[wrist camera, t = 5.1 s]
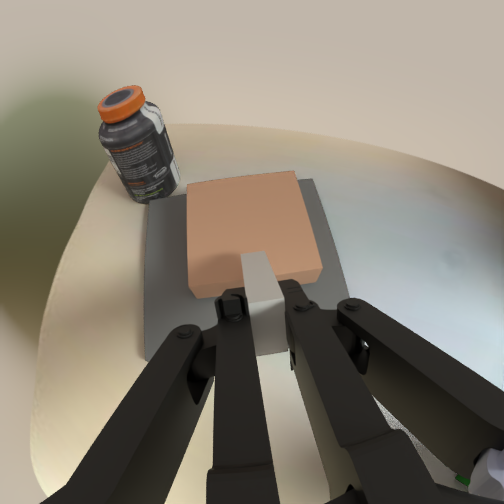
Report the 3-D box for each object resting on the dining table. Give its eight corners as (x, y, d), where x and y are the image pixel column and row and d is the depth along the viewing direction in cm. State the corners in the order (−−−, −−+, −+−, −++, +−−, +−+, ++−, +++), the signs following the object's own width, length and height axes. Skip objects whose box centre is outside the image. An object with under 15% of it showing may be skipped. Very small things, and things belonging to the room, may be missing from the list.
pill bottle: (190, 167, 28) (166, 76, 18) (166, 210, 25) (125, 115, 15) (145, 162, 29) (113, 81, 19) (120, 201, 26) (73, 119, 16)
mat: (311, 183, 26) (312, 178, 26) (354, 334, 19) (358, 332, 19) (152, 205, 26) (149, 200, 25) (149, 361, 19) (145, 361, 18)
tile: (315, 284, 21) (291, 193, 25) (322, 267, 18) (294, 170, 22) (198, 300, 20) (193, 205, 24) (188, 286, 18) (186, 184, 22)
